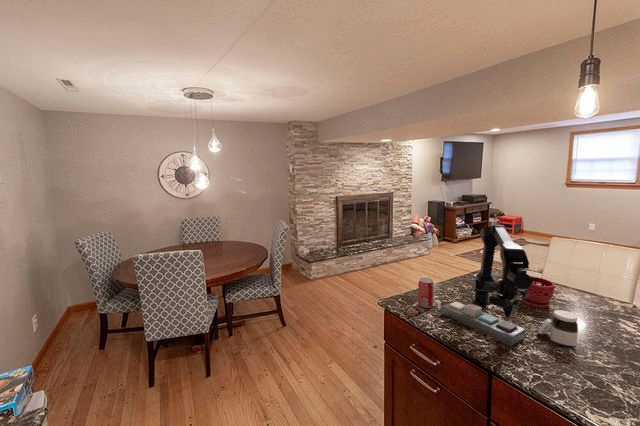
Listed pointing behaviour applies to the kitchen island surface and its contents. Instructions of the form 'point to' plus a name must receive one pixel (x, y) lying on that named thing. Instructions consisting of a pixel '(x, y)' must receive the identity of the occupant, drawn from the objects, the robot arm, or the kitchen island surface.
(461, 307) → the key ivory
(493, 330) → the key panel
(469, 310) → the key grey
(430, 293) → the soda can
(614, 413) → the kitchen island surface
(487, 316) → the key teal
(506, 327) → the key black
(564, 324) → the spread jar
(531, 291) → the plant pot
